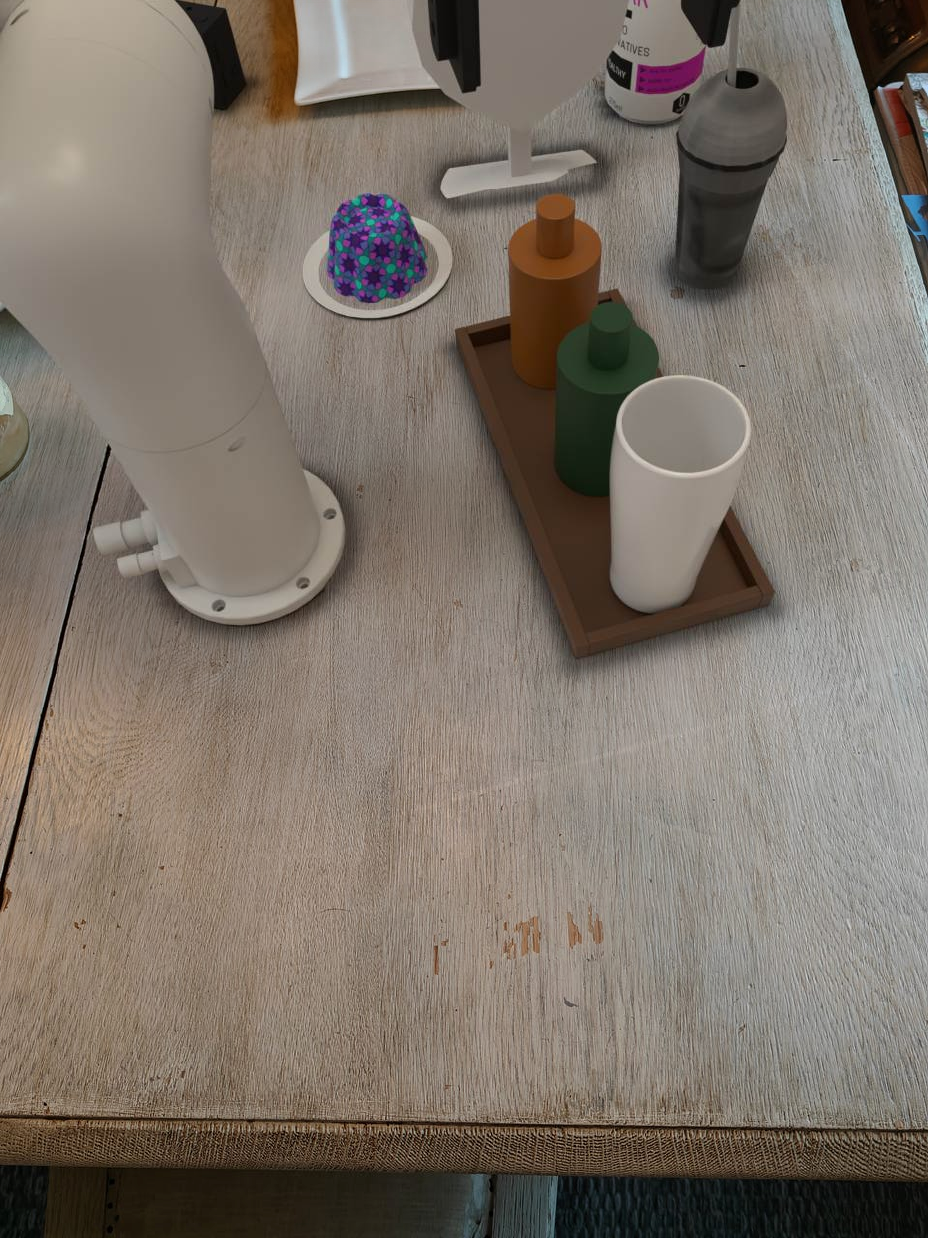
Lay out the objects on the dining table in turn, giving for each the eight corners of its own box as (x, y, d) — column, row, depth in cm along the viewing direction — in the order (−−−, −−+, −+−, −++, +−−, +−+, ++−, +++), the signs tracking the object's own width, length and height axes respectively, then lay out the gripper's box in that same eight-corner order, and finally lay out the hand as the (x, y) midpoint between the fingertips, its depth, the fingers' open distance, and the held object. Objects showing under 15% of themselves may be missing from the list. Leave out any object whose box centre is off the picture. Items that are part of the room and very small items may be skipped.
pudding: (476, 295, 74) (472, 239, 70) (330, 344, 73) (317, 290, 68) (422, 204, 80) (415, 146, 76) (286, 247, 79) (271, 191, 74)
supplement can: (713, 86, 85) (745, -107, 72) (671, 139, 82) (697, -53, 69) (631, 63, 88) (648, -128, 75) (588, 113, 85) (597, -77, 71)
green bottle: (570, 507, 64) (577, 367, 52) (542, 439, 66) (544, 293, 55) (655, 484, 64) (681, 340, 53) (624, 418, 67) (642, 268, 56)
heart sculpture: (604, 146, 82) (620, -92, 66) (616, 183, 80) (636, -54, 64) (426, 171, 82) (400, -61, 66) (432, 209, 80) (407, -22, 64)
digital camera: (254, 76, 91) (234, -1, 84) (226, 110, 88) (203, 33, 82) (161, 58, 93) (135, -18, 87) (132, 91, 91) (103, 14, 85)
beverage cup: (750, 311, 72) (818, 42, 54) (652, 302, 73) (688, 35, 55) (755, 245, 75) (821, -29, 58) (662, 237, 76) (699, -33, 59)
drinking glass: (697, 533, 62) (740, 367, 49) (714, 624, 59) (765, 473, 45) (592, 539, 62) (607, 376, 49) (603, 631, 59) (622, 482, 46)
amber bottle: (525, 398, 68) (523, 248, 57) (501, 340, 71) (494, 187, 60) (605, 377, 69) (618, 225, 57) (578, 320, 72) (585, 165, 60)
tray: (575, 662, 58) (576, 647, 57) (456, 348, 72) (454, 328, 70) (768, 608, 59) (775, 591, 58) (615, 308, 73) (617, 287, 71)
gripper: (906, -756, 25) (757, -37, 40) (245, -677, 23) (348, 36, 38) (1060, -705, 21) (832, 65, 36) (288, -608, 20) (383, 149, 35)
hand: (583, 49), depth 37 cm, fingers open, 9 cm apart
